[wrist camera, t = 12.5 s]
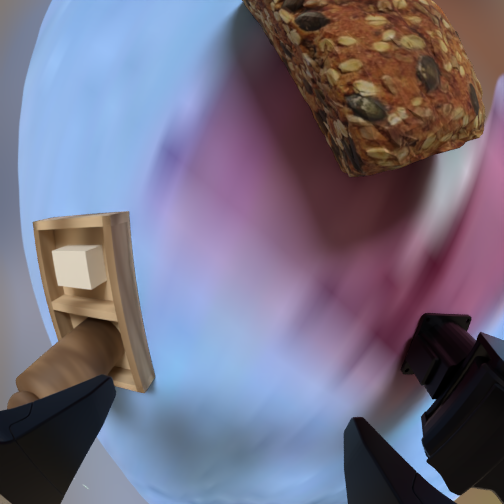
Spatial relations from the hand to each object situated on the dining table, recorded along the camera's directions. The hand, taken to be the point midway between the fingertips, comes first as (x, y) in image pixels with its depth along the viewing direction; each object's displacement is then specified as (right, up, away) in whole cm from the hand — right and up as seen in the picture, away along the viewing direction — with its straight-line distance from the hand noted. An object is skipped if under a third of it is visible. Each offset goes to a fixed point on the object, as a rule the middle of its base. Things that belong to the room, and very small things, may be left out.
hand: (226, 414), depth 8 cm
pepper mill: (-14, -3, +15) cm, 21 cm away
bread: (+8, +21, +8) cm, 24 cm away
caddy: (-14, +1, +15) cm, 20 cm away
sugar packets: (-14, +5, +13) cm, 20 cm away
